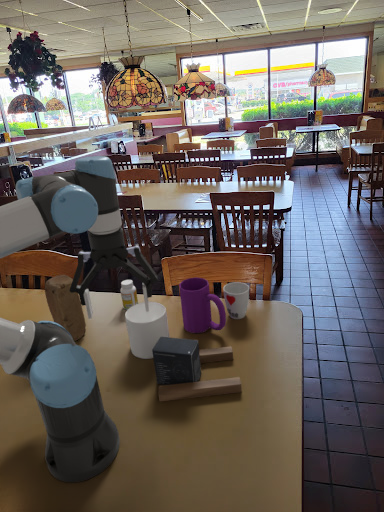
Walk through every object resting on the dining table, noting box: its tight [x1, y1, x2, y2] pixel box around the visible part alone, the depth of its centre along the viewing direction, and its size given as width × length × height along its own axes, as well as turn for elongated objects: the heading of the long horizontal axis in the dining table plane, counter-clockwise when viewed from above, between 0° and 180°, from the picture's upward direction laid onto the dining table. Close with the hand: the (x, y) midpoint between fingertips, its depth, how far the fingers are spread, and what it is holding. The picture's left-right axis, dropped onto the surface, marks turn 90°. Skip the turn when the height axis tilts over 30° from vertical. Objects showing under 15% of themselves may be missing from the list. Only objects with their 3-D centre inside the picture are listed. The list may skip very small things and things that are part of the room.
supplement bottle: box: [120, 279, 139, 311], centre depth 134 cm, size 5×5×10 cm
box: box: [152, 336, 202, 386], centre depth 97 cm, size 11×7×10 cm, turn 73°
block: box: [44, 274, 87, 342], centre depth 118 cm, size 11×8×20 cm
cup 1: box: [124, 301, 170, 360], centre depth 110 cm, size 12×12×12 cm
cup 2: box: [223, 281, 250, 320], centre depth 122 cm, size 8×8×10 cm
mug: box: [178, 276, 227, 334], centre depth 116 cm, size 9×16×15 cm, turn 51°
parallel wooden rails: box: [158, 345, 242, 402], centre depth 99 cm, size 15×20×2 cm
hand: (119, 312), depth 92 cm, fingers open, 13 cm apart
